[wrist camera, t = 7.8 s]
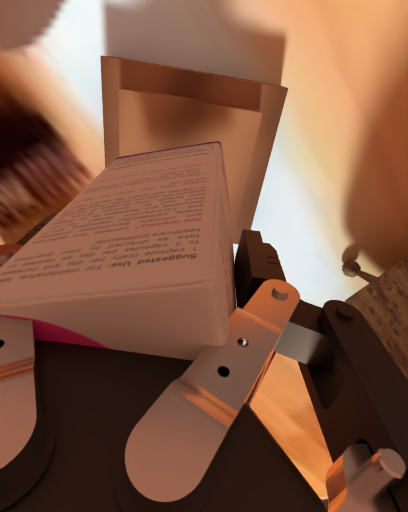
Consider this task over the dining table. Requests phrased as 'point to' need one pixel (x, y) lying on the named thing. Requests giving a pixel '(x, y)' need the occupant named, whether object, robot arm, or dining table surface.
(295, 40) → the dining table surface
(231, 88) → the walnut base
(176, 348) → the supplement box
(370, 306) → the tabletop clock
